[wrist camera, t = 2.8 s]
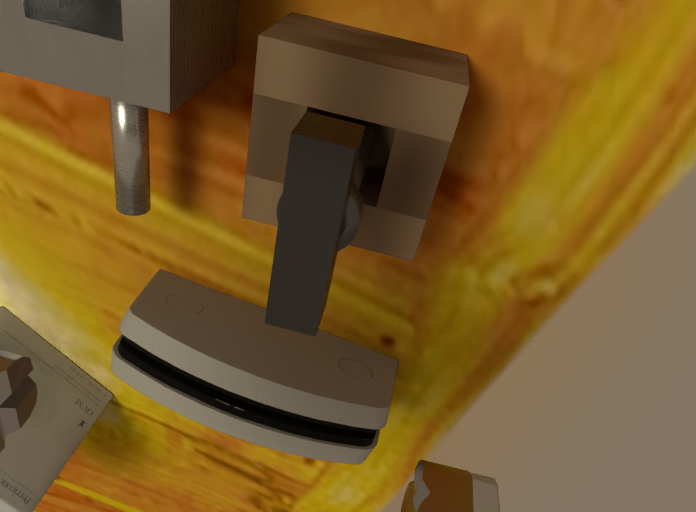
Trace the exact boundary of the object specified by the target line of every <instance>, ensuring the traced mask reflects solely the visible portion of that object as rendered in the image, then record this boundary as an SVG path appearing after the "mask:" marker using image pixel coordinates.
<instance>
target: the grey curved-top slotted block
mask: <svg viewBox="0 0 696 512" xmlns="http://www.w3.org/2000/svg"><path fill="white" fill-rule="evenodd" d="M265 318H266V309H264V308H261V307H258V306H256V305H253V304H250V303H248V302H245V301H243V300H240V299H237V298H235V297H232V296H230V295H227V294H224V293H222V292H219V291H216V290H214V289H211V288H209V287H206V286H203V285H201V284H198V283H196V282H193V281H190V280H188V279H185V278H182V277H180V276H177V275H175V274H172V273H169V272H167V271H164V270H162V269H159V271H158V272H157V273H156V274H155V276H154V277H153V278H152V279H151V281H150V282H149V283H148V284H147V286H146V287H145V288H144V289H143V291H142V292H141V293H140V294H139V296H138V297H137V298H136V299H135V301H134V302H133V303H132V305H131V306H130V307H129V309H128V311H127V312H126V314H125V316H124V317H123V319H122V321H121V323H120V325H119V330H120V331H121V333H122V335H121V336H120V337H119V339H118V340H117V342H116V343H115V344H114V346H113V350H112V363H111V368H112V372H113V373H114V374H115V375H116V376H117V377H118V378H120V379H121V380H122V381H124V382H125V383H127V384H128V385H130V386H132V387H133V388H135V389H136V390H138V391H139V392H141V393H142V394H144V395H146V396H148V397H149V398H151V399H153V400H154V401H156V402H158V403H160V404H161V405H163V406H165V407H167V408H169V409H171V410H173V411H175V412H177V413H179V414H181V415H183V416H185V417H187V418H190V419H192V420H194V421H196V422H198V423H200V424H203V425H205V426H207V427H210V428H212V429H215V430H217V431H219V432H222V433H225V434H228V435H230V436H233V437H236V438H239V439H242V440H245V441H248V442H251V443H254V444H257V445H260V446H263V447H267V448H270V449H274V450H278V451H282V452H285V453H290V454H294V455H298V456H303V457H307V458H313V459H319V460H325V461H331V462H338V463H347V464H360V463H363V462H364V461H365V460H366V458H367V457H368V455H369V454H370V453H371V451H372V450H373V449H374V447H375V446H376V445H377V441H378V437H379V432H380V429H381V428H383V427H385V425H386V423H387V419H388V414H389V409H390V404H391V399H392V394H393V388H394V383H395V378H396V372H397V367H398V362H399V360H397V359H394V358H392V357H389V356H386V355H384V354H381V353H379V352H376V351H373V350H371V349H368V348H366V347H363V346H360V345H358V344H355V343H352V342H350V341H347V340H345V339H342V338H339V337H337V336H334V335H332V334H329V333H326V332H324V331H321V330H318V331H317V334H316V337H314V336H310V335H307V334H303V333H299V332H295V331H291V330H288V329H284V328H280V327H276V326H272V325H269V324H265Z"/></svg>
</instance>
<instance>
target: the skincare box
mask: <svg viewBox="0 0 696 512" xmlns="http://www.w3.org/2000/svg"><path fill="white" fill-rule="evenodd" d="M0 349H1V350H5V351H8V352H12V353H15V354H19V355H22V356H26V357H29V358H31V362H32V366H33V370H32V371H31V372H30V374H29V375H28V376H29V377H30V378H31V379H32V380H33V381H34V382H35V383H36V385H37V391H38V394H37V401H36V405H35V407H34V409H33V411H32V413H31V415H30V417H29V418H28V420H27V421H26V422H25V423H24V425H23V426H22V427H21V428H20V429H19V430H17V431H15V432H13V433H10V434H8V435H6V436H5V448H4V449H3V450H2V451H1V453H0V512H33V510H34V509H35V507H36V506H37V505H38V503H39V502H40V500H41V499H42V497H43V496H44V495H45V493H46V492H47V490H48V489H49V487H50V486H51V485H52V483H53V482H54V480H55V479H56V477H57V476H58V475H59V473H60V472H61V470H62V469H63V467H64V466H65V464H66V463H67V462H68V460H69V459H70V457H71V456H72V454H73V453H74V452H75V450H76V449H77V447H78V446H79V445H80V443H81V442H82V440H83V439H84V437H85V436H86V434H87V433H88V431H89V430H90V429H91V427H92V426H93V424H94V423H95V422H96V420H97V419H98V417H99V416H100V414H101V413H102V411H103V410H104V408H105V407H106V406H107V404H108V403H109V401H110V400H111V399H112V397H113V395H112V394H111V393H110V392H109V391H108V390H106V389H105V388H104V387H103V386H101V385H100V384H99V383H98V382H96V381H95V380H94V379H93V378H91V377H90V376H89V375H88V374H86V373H85V372H84V371H83V370H82V369H80V368H79V367H78V366H77V365H75V364H74V363H73V362H72V361H70V360H69V359H68V358H67V357H65V356H64V355H63V354H62V353H60V352H59V351H58V350H57V349H55V348H54V347H53V346H52V345H51V344H49V343H48V342H47V341H46V340H44V339H43V338H42V337H41V336H39V335H38V334H37V333H36V332H34V331H33V330H32V329H31V328H30V327H28V326H27V325H26V324H25V323H23V322H22V321H21V320H20V319H18V318H17V317H16V316H15V315H13V314H12V313H11V312H10V311H8V310H7V309H6V308H4V307H3V306H1V307H0Z"/></svg>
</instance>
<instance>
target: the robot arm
mask: <svg viewBox="0 0 696 512" xmlns="http://www.w3.org/2000/svg"><path fill="white" fill-rule="evenodd" d="M32 370H33V366H32V362H31V358H29V357H26V356H22V355H19V354H15V353H12V352H8V351H5V350H1V349H0V453H1V451H2V450H3V449H4V448H5V436H6V435H8V434H10V433H13V432H15V431H17V430H19V429H20V428H21V427H22V426H23V425H24V423H25V422H26V421H27V420H28V418H29V417H30V415H31V413H32V411H33V409H34V407H35V405H36V401H37V394H38V391H37V385H36V383H35V382H34V381H33V380H32V379H31V378H30V377H29V376H28V375H29V374H30V372H31V371H32ZM401 512H500V508H499V497H498V485H497V483H496V481H495V479H493V478H490V477H486V476H482V475H478V474H474V473H470V472H468V471H466V470H461V469H457V468H453V467H449V466H445V465H441V464H437V463H433V462H429V461H425V460H420V461H419V462H418V464H417V466H416V468H415V476H414V481H412V482H410V483H409V484H408V487H407V489H406V492H405V495H404V499H403V503H402V508H401Z"/></svg>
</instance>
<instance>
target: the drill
mask: <svg viewBox="0 0 696 512" xmlns="http://www.w3.org/2000/svg"><path fill="white" fill-rule="evenodd" d="M237 14H238V0H0V71H3V72H7V73H11V74H15V75H19V76H23V77H27V78H31V79H34V80H38V81H42V82H46V83H50V84H54V85H58V86H62V87H66V88H70V89H74V90H78V91H82V92H86V93H90V94H94V95H98V96H102V97H106V98H109V105H110V120H111V135H112V150H113V165H114V180H115V195H116V208H117V210H118V211H119V212H120V213H122V214H125V215H130V216H137V215H142V214H145V213H147V212H148V211H149V210H150V208H151V201H150V159H149V118H148V108H150V109H154V110H158V111H162V112H166V113H171V112H173V111H174V110H175V109H177V108H178V107H179V106H181V105H182V104H183V103H185V102H186V101H187V100H189V99H190V98H192V97H193V96H194V95H196V94H197V93H198V92H200V91H201V90H202V89H204V88H205V87H206V86H208V85H209V84H211V83H212V82H213V81H215V80H216V79H217V78H219V77H220V76H221V75H223V74H224V73H226V72H227V71H228V70H230V69H231V68H232V67H234V59H235V44H236V29H237Z"/></svg>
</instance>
